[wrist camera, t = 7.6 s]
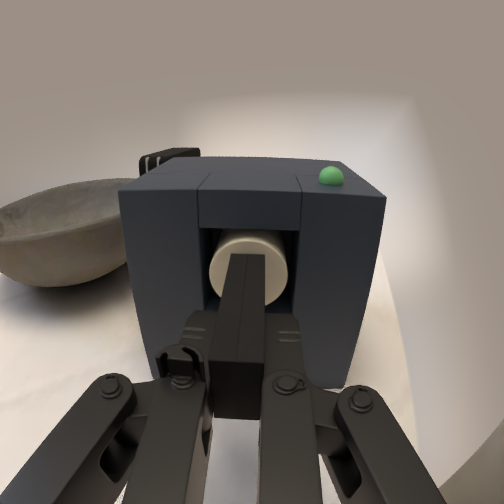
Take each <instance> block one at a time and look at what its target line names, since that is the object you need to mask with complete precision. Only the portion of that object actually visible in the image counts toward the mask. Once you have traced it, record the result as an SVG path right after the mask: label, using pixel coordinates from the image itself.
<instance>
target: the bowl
mask: <svg viewBox="0 0 504 504" xmlns="http://www.w3.org/2000/svg"><path fill="white" fill-rule="evenodd" d="M134 180H135V179H130V178H116V179H102V180H93V181H85V182H78V183H72V184H67V185H63V186H59V187H55V188H51V189H48V190H45V191H42V192H38V193H36V194H33V195H30V196H28V197H25V198H23V199H20V200H18V201H15V202H13V203H11V204H8V205H6V206H4V207H2V208H0V272H2V273H3V274H4V275H6V276H7V277H9V278H11V279H13V280H15V281H17V282H20V283H23V284H26V285H31V286H36V287H61V286H70V285H75V284H80V283H84V282H88V281H91V280H94V279H96V278H99V277H101V276H103V275H105V274H107V273H109V272H111V271H113V270H115V269H116V268H118V267H120V266H121V265H123V264H124V263H125V262H127V259H126V253H125V246H124V240H123V233H122V225H121V218H120V210H119V201H118V190H119V189H120V188H122V187H124V186H125V185H127V184H129V183H130V182H132V181H134Z"/></svg>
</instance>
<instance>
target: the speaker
mask: <svg viewBox="0 0 504 504" xmlns="http://www.w3.org/2000/svg"><path fill="white" fill-rule="evenodd" d="M386 199H387V198H386V196H385V195H383V194H382V193H381V192H379V191H378V190H377V189H376V188H375V187H373V186H372V185H371V184H369V183H368V182H367V181H366V180H364V179H363V178H361V177H360V176H359V175H357V174H356V173H355V172H353V171H352V170H351V169H349V168H348V167H347V166H345V165H344V164H342V163H341V162H339V161H327V160H312V159H295V158H271V157H269V158H268V157H174V158H172V159H170V160H168V161H166V162H164V163H163V164H161V165H159V166H157V167H156V168H154V169H152V170H150V171H149V172H147V173H145V174H144V175H142V176H140V177H139V178H137V179H135V180H134V181H132V182H130V183H129V184H127V185H125V186H124V187H122V188H120V189H119V190H118V201H119V210H120V218H121V225H122V233H123V240H124V246H125V253H126V259H127V265H128V271H129V276H130V282H131V287H132V292H133V297H134V302H135V307H136V312H137V316H138V321H139V325H140V330H141V334H142V338H143V342H144V346H145V350H146V354H147V358H148V362H149V366H150V369H151V373H152V377H153V379H159V378H160V375H159V371H158V367H157V363H156V359H155V357H156V355H157V354H158V352H159V351H160V350H162V349H163V348H165V347H167V346H170V345H173V344H179V341H180V338H181V335H182V332H183V330H184V326H185V323H186V320H187V318H188V317H189V316H190V315H191V314H192V313H193V312H194V311H195V310H198V311H215V312H218V310H219V305H220V300H221V297H220V296H219V295H218V294H217V293H216V292H215V290H214V288H213V286H212V284H211V281H210V276H209V269H210V265H211V262H212V259H213V256H214V253H215V250H216V247H217V244H218V241H219V238H220V235H221V233H222V230H223V228H230V229H264V230H281V232H282V235H283V239H284V246H285V255H286V263H287V272H288V278H287V283H286V286H285V288H284V290H283V292H282V293H281V294H280V295H279V297H278V298H276V299H275V300H274V301H273V302H271V303H269V304H267V305H265V313H292V314H293V316H294V317H295V318H296V319H297V321H298V322H299V329H300V337H301V345H302V353H303V361H304V369H305V374H306V377H307V378H308V380H309V381H310V382H311V383H312V384H313V385H315V386H316V387H318V388H343V387H344V384H345V381H346V378H347V374H348V371H349V368H350V364H351V361H352V358H353V354H354V351H355V347H356V344H357V340H358V336H359V332H360V329H361V325H362V321H363V317H364V313H365V309H366V305H367V300H368V296H369V292H370V287H371V283H372V278H373V273H374V269H375V264H376V259H377V253H378V248H379V243H380V237H381V231H382V225H383V219H384V212H385V206H386Z"/></svg>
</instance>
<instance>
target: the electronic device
mask: <svg viewBox="0 0 504 504" xmlns="http://www.w3.org/2000/svg"><path fill="white" fill-rule="evenodd" d="M174 157H200V149H199V148H171V149H167V150H163V151H160V152H156V153H152V154H149V155H145V156H142V157H141V159H140V160H139V173H140V176H142V175H144V174H145V173H147V172H149V171H150V170H152V169H154V168H156V167H157V166H159V165H161V164H163V163H164V162H166V161H168V160H170V159H172V158H174Z"/></svg>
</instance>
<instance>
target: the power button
mask: <svg viewBox="0 0 504 504" xmlns="http://www.w3.org/2000/svg"><path fill="white" fill-rule="evenodd" d="M231 253H237V254H265V305H267V304H269V303H271V302H273V301H274V300H275V299H276V298H278V297H279V295H280V294H281V293H282V292H283V290H284V288H285V286H286V283H287V278H288V272H287V263H286V255H285V246H284V239H283V235H282V232H281V230H264V229H230V228H223V230H222V233H221V235H220V238H219V241H218V244H217V247H216V250H215V253H214V256H213V259H212V262H211V265H210V269H209V276H210V281H211V284H212V286H213V288H214V290H215V292H216V293H217V294H218V295H219V296H220V297H221V296H222V291H223V287H224V282H225V278H226V273H227V269H228V264H229V260H230V255H231Z"/></svg>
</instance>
